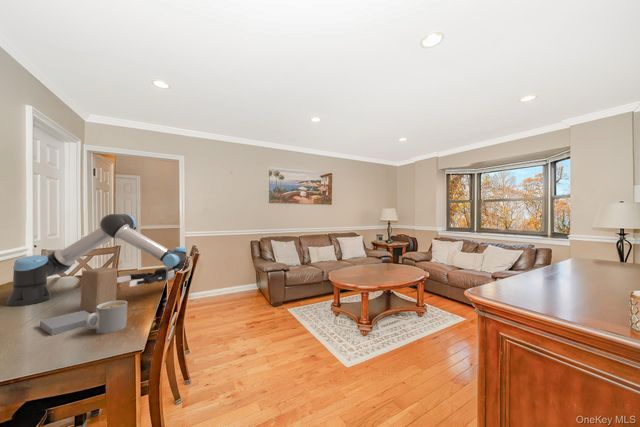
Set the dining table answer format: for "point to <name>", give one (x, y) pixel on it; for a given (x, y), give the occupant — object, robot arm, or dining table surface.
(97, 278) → the block
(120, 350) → the dining table surface
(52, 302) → the dining table surface
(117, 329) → the coffee mug
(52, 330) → the stand
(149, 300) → the dining table surface
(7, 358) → the dining table surface
